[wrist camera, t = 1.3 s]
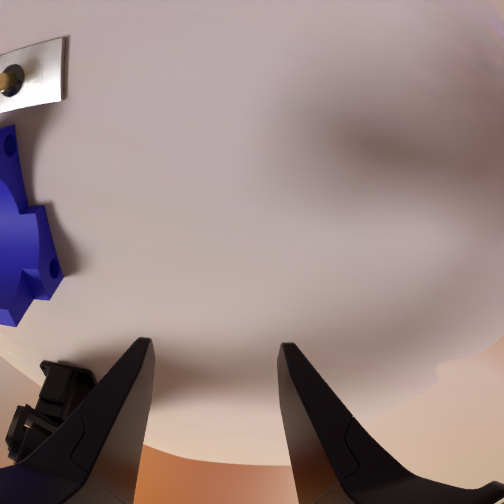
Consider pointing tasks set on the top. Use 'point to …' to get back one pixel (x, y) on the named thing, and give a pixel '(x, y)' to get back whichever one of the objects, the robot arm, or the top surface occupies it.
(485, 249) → the top surface
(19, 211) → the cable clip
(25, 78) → the steel strip
